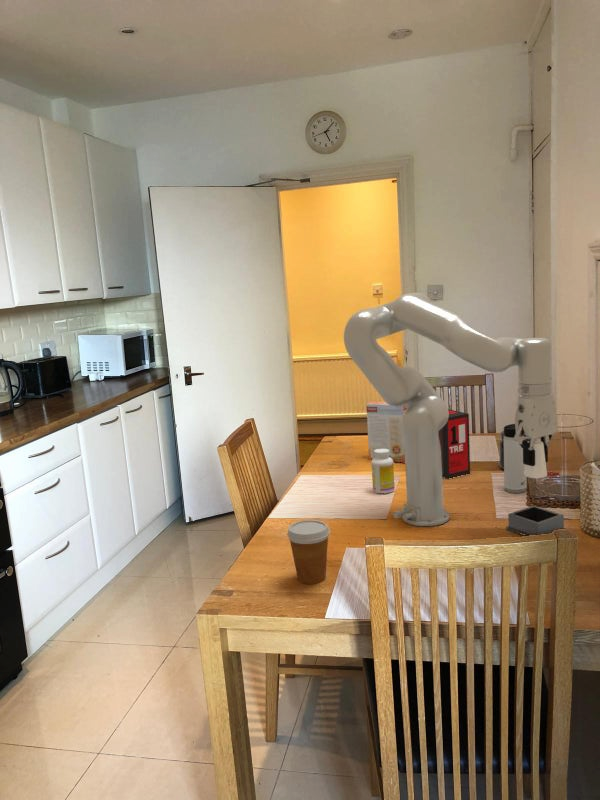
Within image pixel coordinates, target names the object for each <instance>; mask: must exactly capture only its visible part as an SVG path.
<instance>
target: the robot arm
mask: <svg viewBox="0 0 600 800" xmlns="http://www.w3.org/2000/svg"><path fill="white" fill-rule="evenodd" d="M405 330H409V331H411V332H413V333H415V334H417V335H419V336H421V337H424V338H426V339H428V340H430V341H433V342H435V343H436V344H438V345H441V346H442V347H443V348H444V349H446V350H447V351H449V352H450V353H452V354H454V355H456V356H457V357H458V358H460V359H462V360H463V361H465V362H467V363H469V364H472V365H474V366H476V367H478V368H480V369H482V370H485V371H487V372H490V373H502V372H504V371H506V370H508V369H509V368H511V367H516V366H517V368H518V369H517V373H518V375H517V377H518V379H517V380H518V383H517V386H518V388H517V393H518V396H517V400H516V405H515V417H514V418H515V419H514V420H515V421H514V424H515V430H516V434H515V436H514V441H515V442H517V443H519V445H520V446H521V448H522V449H523V464H526V465H530V466H535V450H533V445H534V439H536V438H540V437H541V441H542V442H543V444H544V453H545V461H546V463H547V462H548V461H549V446H550V443H551V442H550V441H551V439H552V437H553V435H554V434H555V433H556V432H557V429H558V418H557V415H558V414H557V407H556V399H555V396H554V394H553V393H552V343H551V341H550V339H548V338H545V337H528V338H517V337H509V336H508V337H507V336H502V337H498V338H492V337H489V336H487V335H485V334H483V333H480V332H479V331H476V330H475V329H473V328H472V327H470V326H468V325H467V324H466V322H464V320H463V318H462V317H461V316H460V315H459V314H457V313H456V312H453V311H451V310H449V309H448V308H447V309H446V308H445V307H442V306H439V305H438V304H435V303H433V302H432V301H431V299H430V298H429V296H427V295H426V294H424V293H421V292H409V293H405V294H401V295H400V296H398V297H397V298H396V299H395V300H393V301H390V302H387V303H384V304H382V305H379V306H376V307H371V308H366V309H360V310H358V311H357V312H355V313H353V314H352V316H351V317H349V319H348V321H347V322H346V324H345V327H344V332H343V343H344V347H345V350H346V353H348V356H349V357H350V358H351V360H352V361H353V362H354V364H355V365H356V366H357V367H358V368H359V370H360V371H361V372H362V374H363V375H364V377H365V378H366V379H367V381H368V382H369V383H370V385H372V387H373V388H374V389H375V391H376V392H377V393H378V394H379V396H380V397H381V399H382V401H385V402H386V403H387V404H389V405H391V406H395V407H397V406H402V405H405V406H406V408H407V410H406V412H405V413H404V415H403V417H402V422H401V430H402V436H403V441H404V449H405V463H404V465H405V484H406V488H405V489H406V502H405V503H403V507H402V508H401V509H398V510H394V511H393V512H392V515H393V518H394V519H399V518H401V519H402V521H403V522H405V523H407V524H408V525H412V526H416V527H418V526H419V527H433V526H439V525H443V524H445V523H447V522H448V521H449V520H450V512H449V511H447V510H446V509H445V508H444V495H443V494H444V493H443V489H444V486H443V477H442V459H441V446H440V441H439V430H440V429H442V428H443V427H444V426H445V424H446V423H447V421H448V417H449V412H448V409H449V408H448V406H447V404H446V403H445V401H444V399H442V397H441V396H440V395H439V394H438V392H437V391H436V389H434V387H433V386H432V384H430V382H429V381H428V380H427V378H425V376H424V375H423V374H422V373H421V372H420V371H419V370H417V368H416V369H415V368H414V367H411V366H399V365H398V364H397V362H395V360H394V359H393V358H392V356H391V355H390V354H389V353H388V352H387V350H385V349H384V348H383V347H382V346H381V345H379V343H378V341H377V340H378V339H382V338H386V337H387V336H391V335H393V334H396V333H399V332H402V331H405ZM527 439H529V443H528V442H527Z"/></svg>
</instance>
